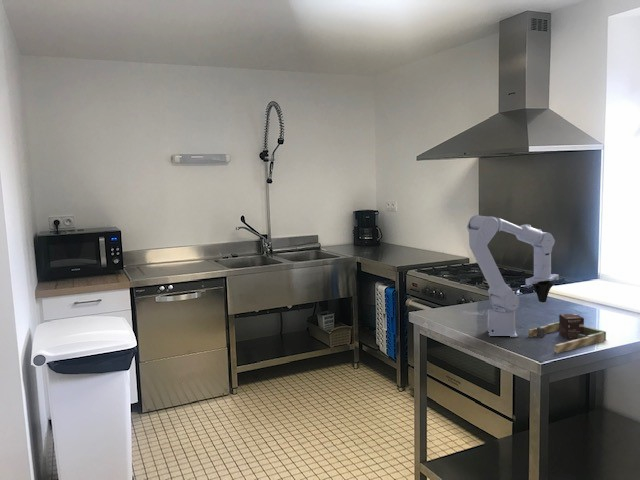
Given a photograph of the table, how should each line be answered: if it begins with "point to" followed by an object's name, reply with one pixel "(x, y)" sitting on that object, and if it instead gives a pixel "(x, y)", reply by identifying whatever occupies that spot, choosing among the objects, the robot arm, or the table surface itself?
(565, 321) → the box
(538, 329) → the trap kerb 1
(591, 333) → the wooden frame
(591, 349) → the table surface
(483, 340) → the table surface
